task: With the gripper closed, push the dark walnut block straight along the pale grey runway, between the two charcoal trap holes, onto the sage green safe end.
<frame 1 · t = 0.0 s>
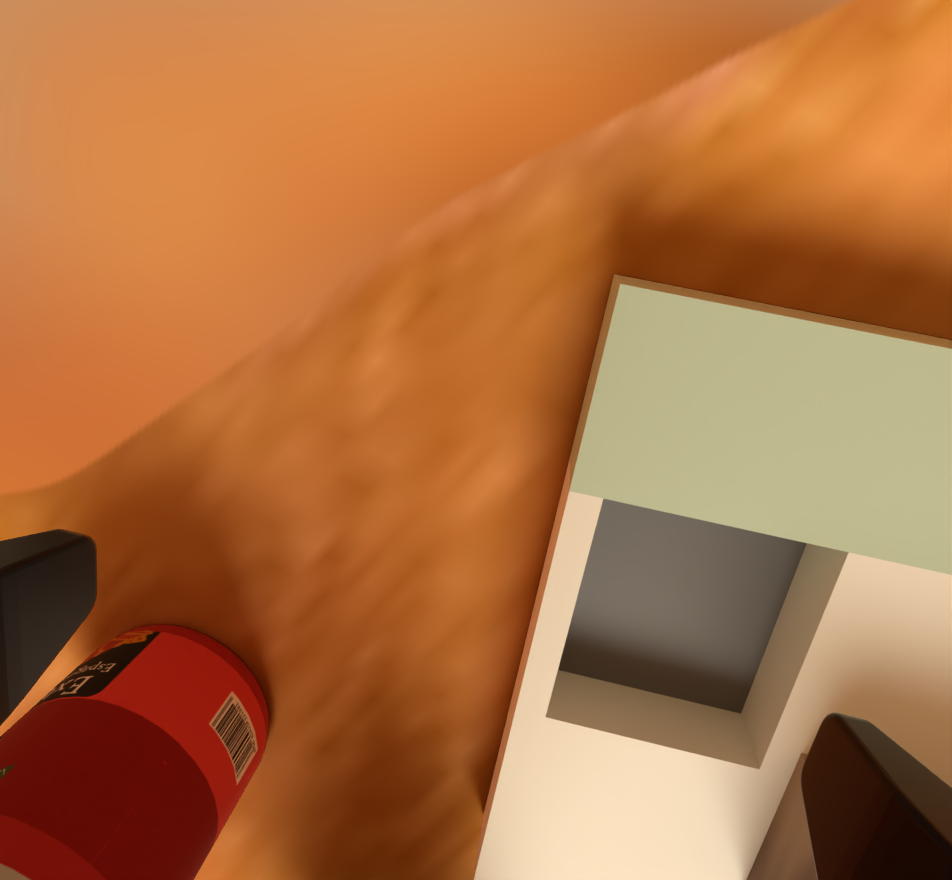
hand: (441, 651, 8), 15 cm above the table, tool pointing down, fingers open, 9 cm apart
canned food: (188, 696, 28), on the table
walnut block: (863, 846, 22), point 3 cm above the table, touching trap deck
trap deck: (881, 664, 23), on the table
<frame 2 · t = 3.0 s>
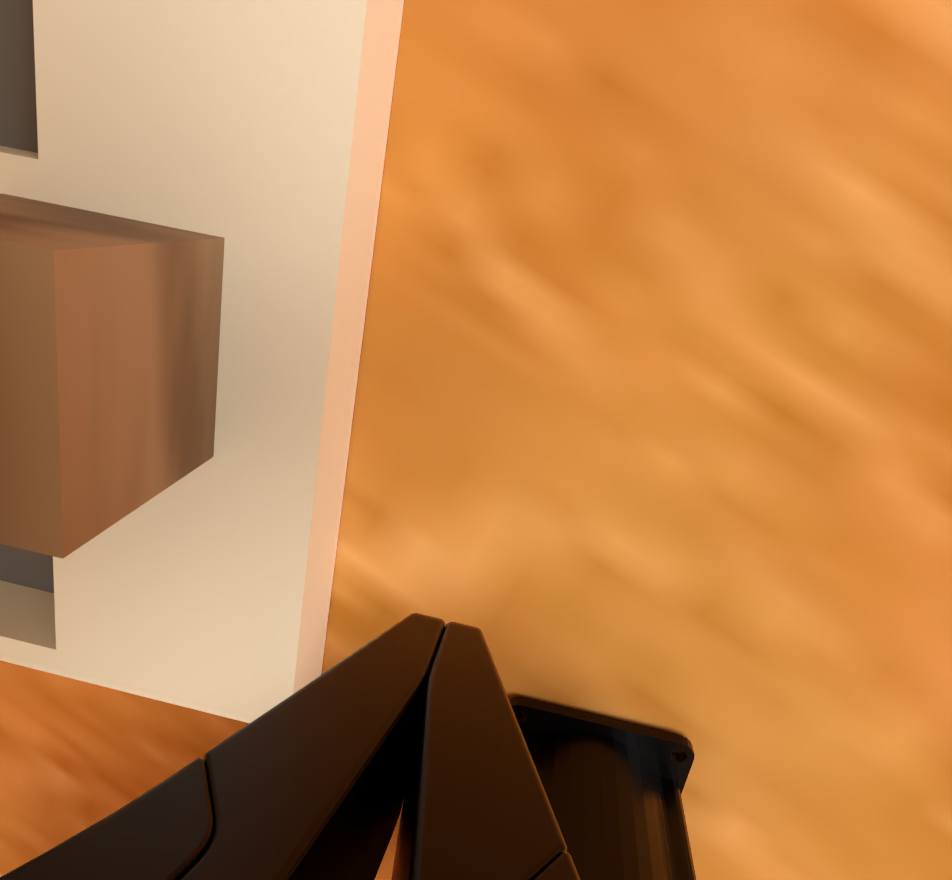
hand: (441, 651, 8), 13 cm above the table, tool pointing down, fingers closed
walnut block: (113, 330, 18), point 3 cm above the table, touching trap deck
trap deck: (25, 283, 22), on the table
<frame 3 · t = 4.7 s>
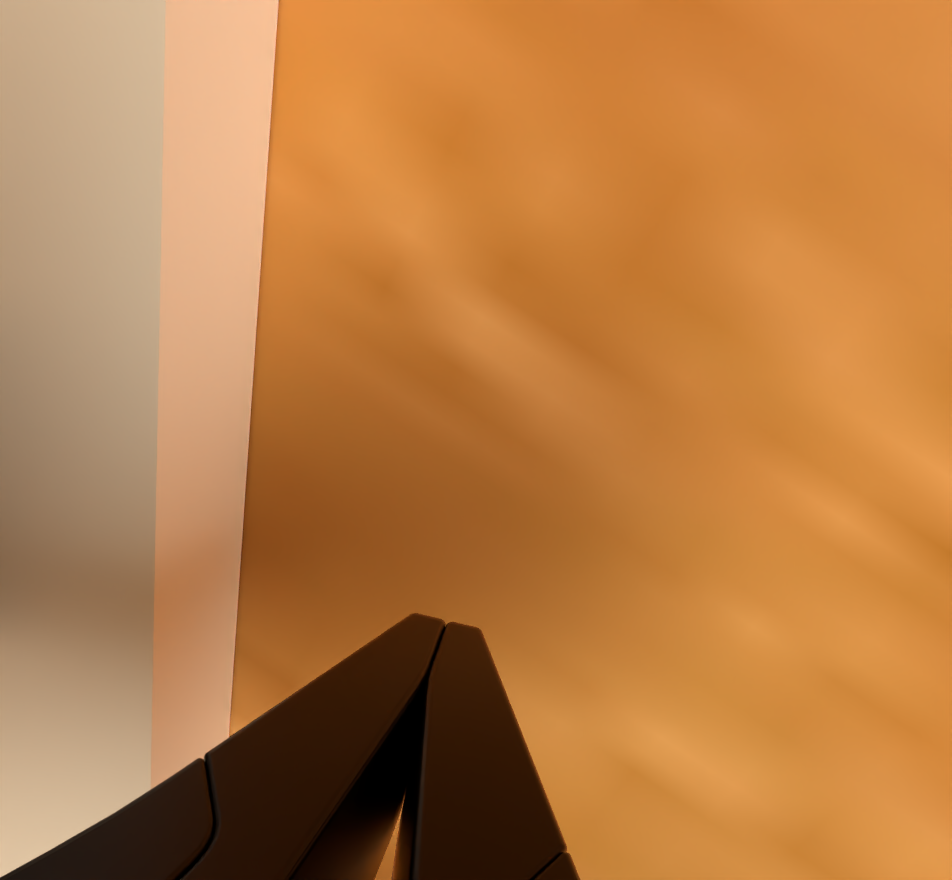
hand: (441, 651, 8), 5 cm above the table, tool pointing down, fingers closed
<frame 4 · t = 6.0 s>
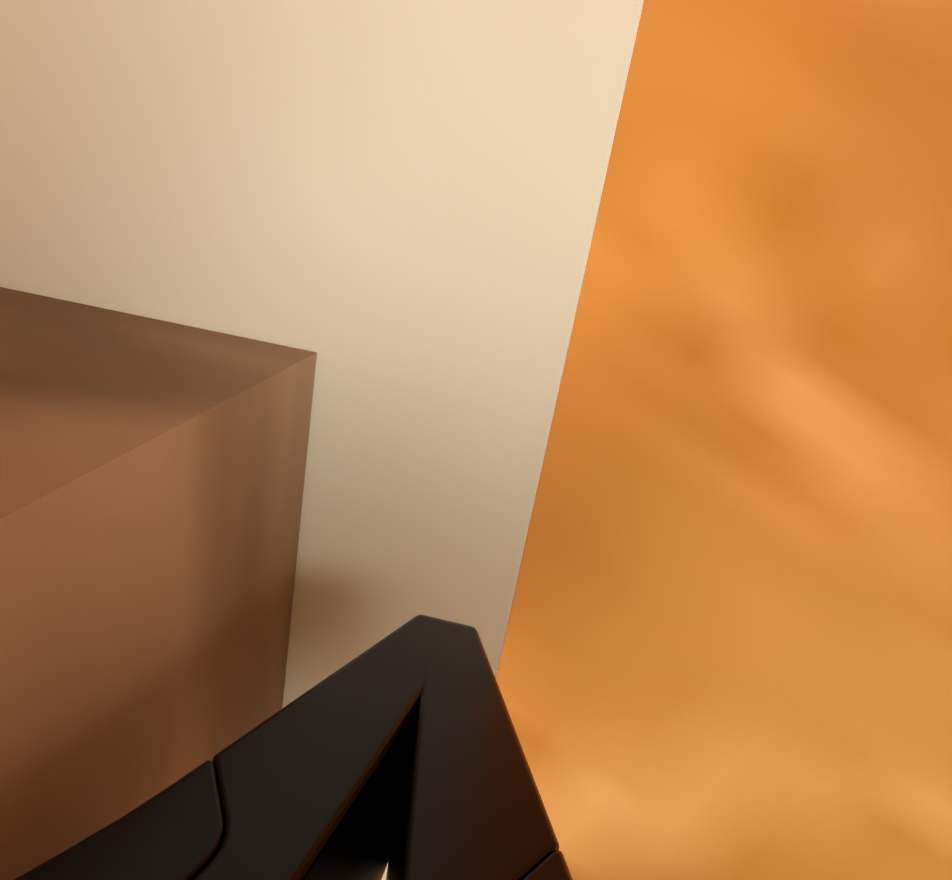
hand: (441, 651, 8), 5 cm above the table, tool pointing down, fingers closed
walnut block: (104, 508, 10), point 3 cm above the table, touching gripper
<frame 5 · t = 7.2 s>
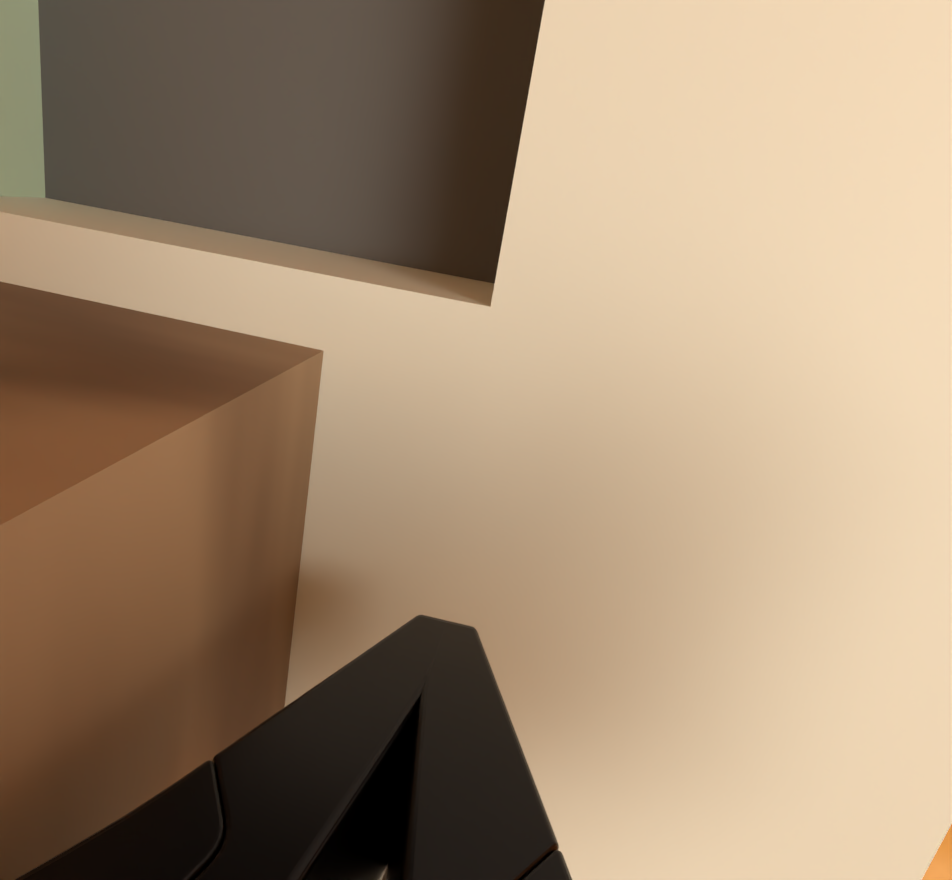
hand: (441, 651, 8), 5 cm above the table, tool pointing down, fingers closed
walnut block: (109, 504, 10), point 3 cm above the table, touching gripper, trap deck
trap deck: (315, 466, 13), on the table
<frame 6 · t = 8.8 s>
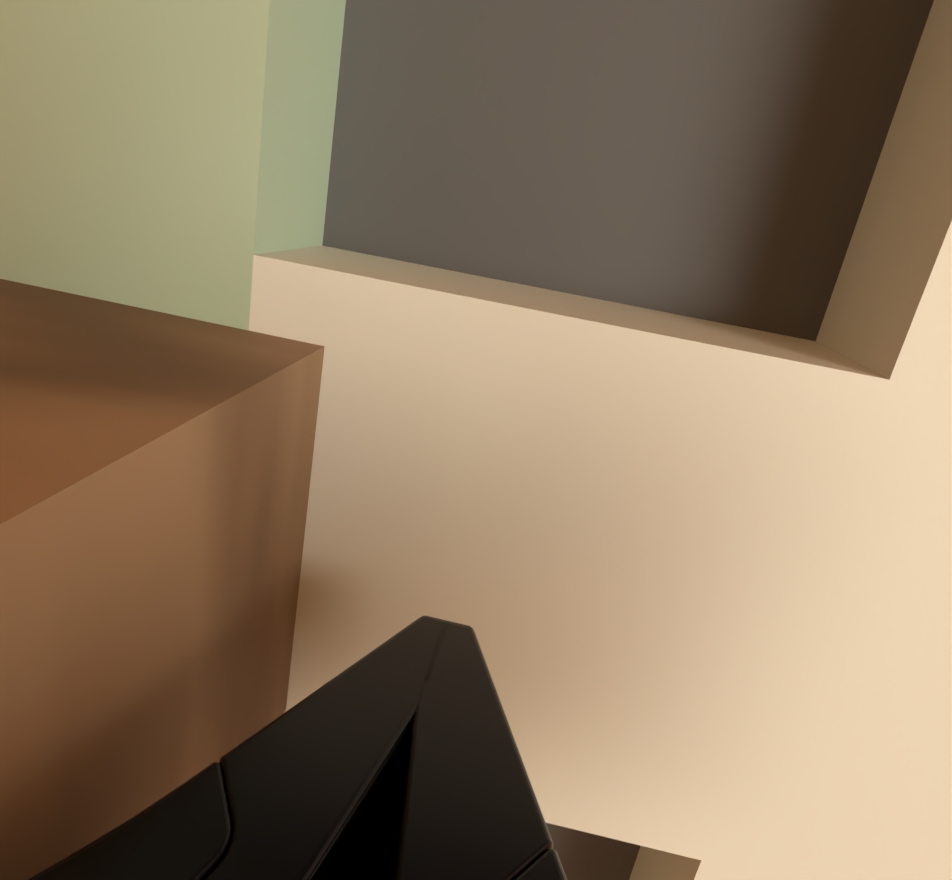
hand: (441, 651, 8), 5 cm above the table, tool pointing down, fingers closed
walnut block: (109, 501, 10), point 3 cm above the table, touching gripper, trap deck
trap deck: (570, 517, 13), on the table
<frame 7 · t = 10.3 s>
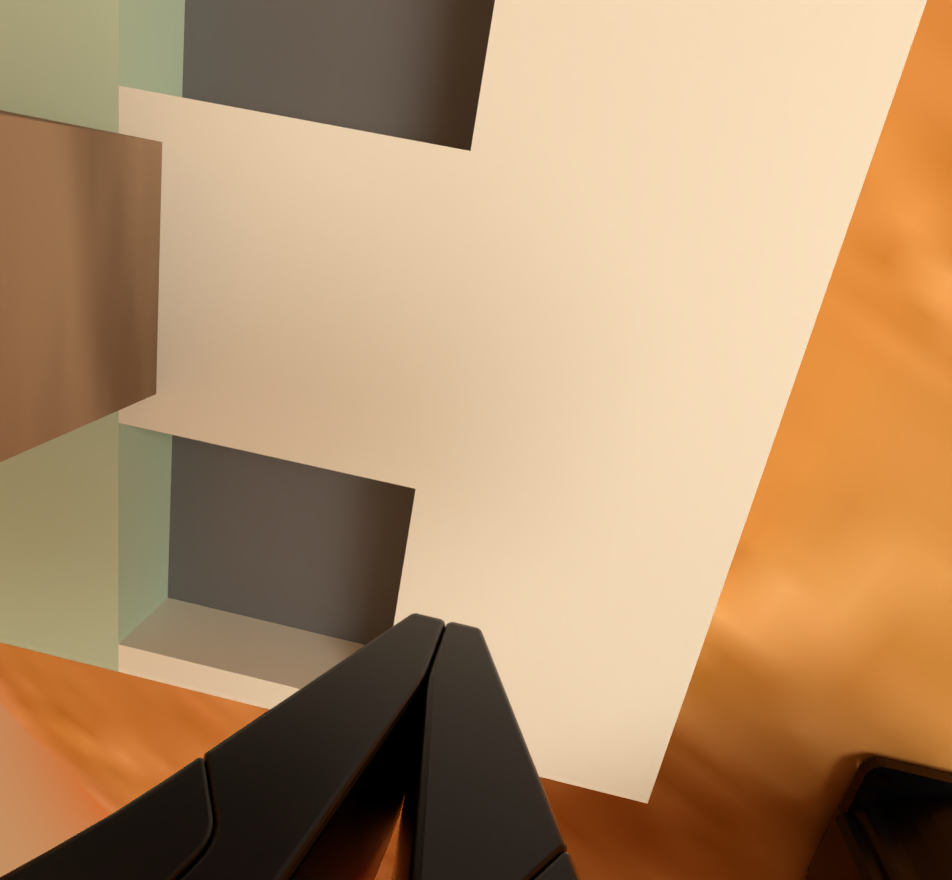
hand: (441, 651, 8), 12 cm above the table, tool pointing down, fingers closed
walnut block: (42, 251, 17), point 3 cm above the table, touching trap deck
trap deck: (355, 294, 19), on the table
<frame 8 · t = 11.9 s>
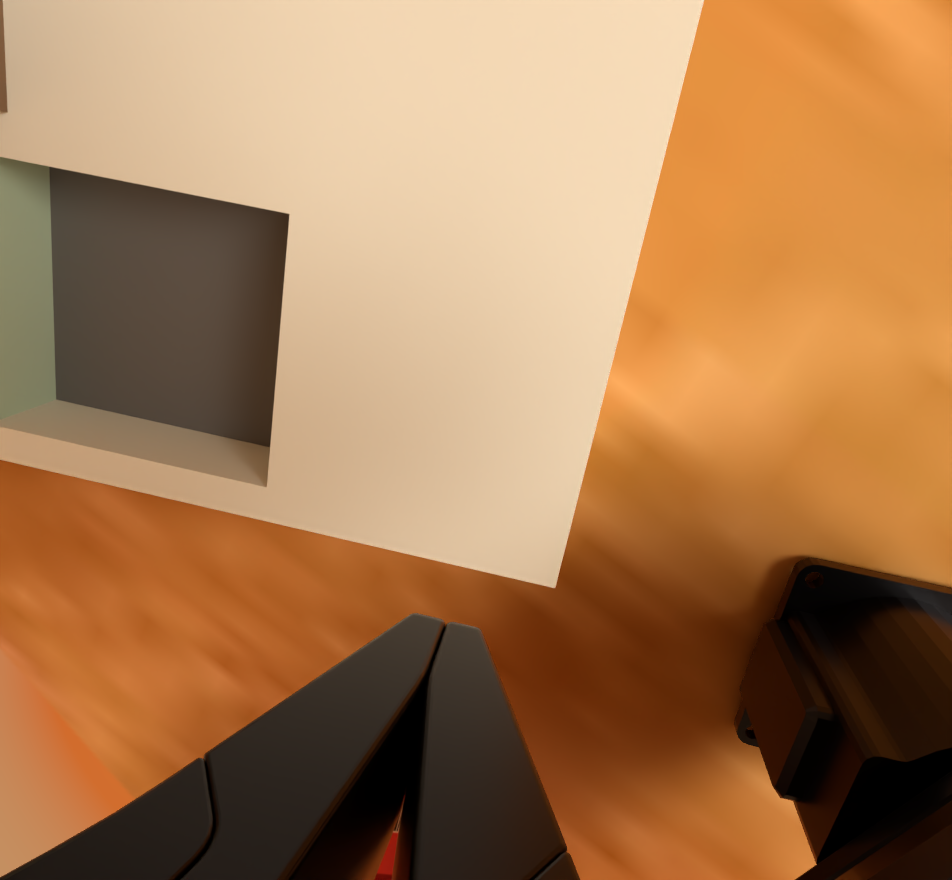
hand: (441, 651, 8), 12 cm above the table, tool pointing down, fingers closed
canned food: (429, 829, 25), on the table
trap deck: (237, 29, 17), on the table
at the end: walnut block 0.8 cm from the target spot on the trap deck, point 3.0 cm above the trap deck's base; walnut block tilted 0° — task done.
